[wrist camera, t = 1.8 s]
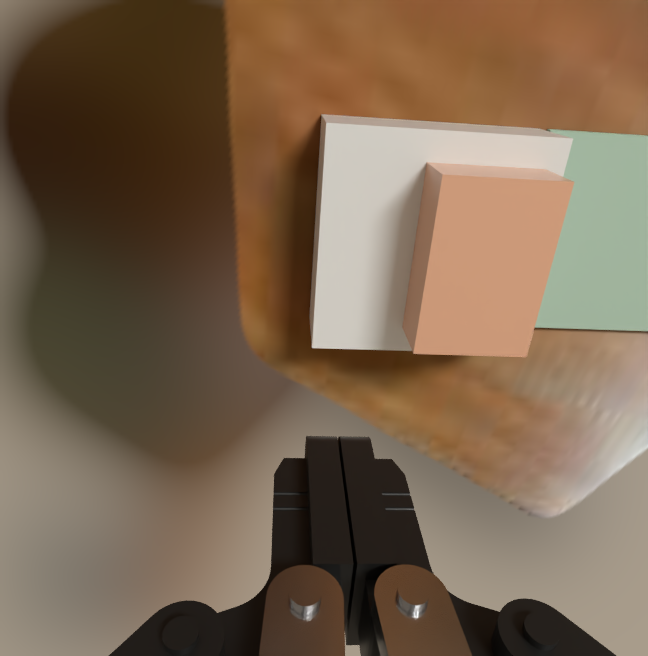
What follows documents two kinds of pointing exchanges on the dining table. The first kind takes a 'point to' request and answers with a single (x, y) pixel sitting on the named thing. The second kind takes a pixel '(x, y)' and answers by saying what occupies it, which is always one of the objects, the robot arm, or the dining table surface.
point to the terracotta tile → (482, 258)
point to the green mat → (601, 237)
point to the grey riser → (391, 214)
